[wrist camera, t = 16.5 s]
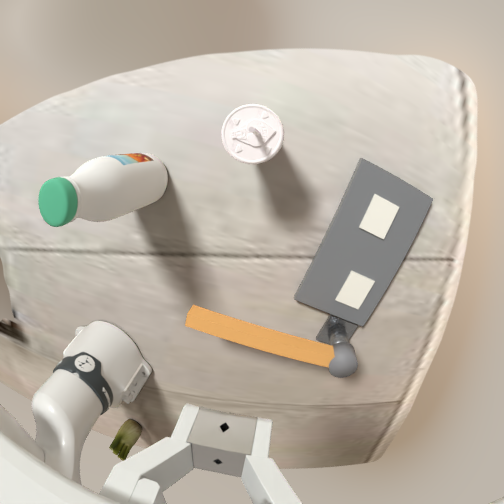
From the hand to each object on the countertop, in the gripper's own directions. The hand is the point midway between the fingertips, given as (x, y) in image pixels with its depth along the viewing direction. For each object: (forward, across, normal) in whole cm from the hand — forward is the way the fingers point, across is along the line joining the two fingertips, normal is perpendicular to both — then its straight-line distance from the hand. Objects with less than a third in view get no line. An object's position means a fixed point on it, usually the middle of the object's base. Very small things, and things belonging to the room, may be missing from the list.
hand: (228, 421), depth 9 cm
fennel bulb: (+33, +28, +58) cm, 72 cm away
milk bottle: (+33, +20, -3) cm, 39 cm away
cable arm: (+27, -2, +15) cm, 31 cm away
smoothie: (+33, +3, -10) cm, 35 cm away
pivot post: (+33, -12, +17) cm, 39 cm away
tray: (+33, -13, +2) cm, 35 cm away
